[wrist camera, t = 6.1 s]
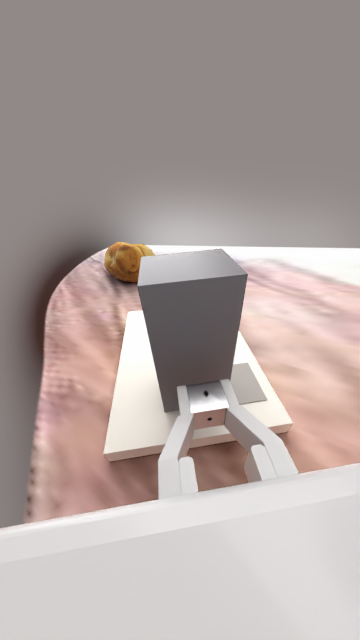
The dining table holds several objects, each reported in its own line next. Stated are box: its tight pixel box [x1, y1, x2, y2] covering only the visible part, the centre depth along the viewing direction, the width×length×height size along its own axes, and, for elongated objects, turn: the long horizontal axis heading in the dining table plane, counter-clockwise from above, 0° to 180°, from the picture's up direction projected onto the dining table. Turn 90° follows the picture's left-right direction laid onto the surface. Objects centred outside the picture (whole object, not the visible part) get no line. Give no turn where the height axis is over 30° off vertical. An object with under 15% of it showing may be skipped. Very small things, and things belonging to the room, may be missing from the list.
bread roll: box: [104, 242, 155, 282], centre depth 40 cm, size 13×10×8 cm
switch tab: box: [137, 249, 248, 413], centre depth 13 cm, size 4×5×11 cm
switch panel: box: [104, 310, 293, 462], centre depth 21 cm, size 18×14×2 cm
